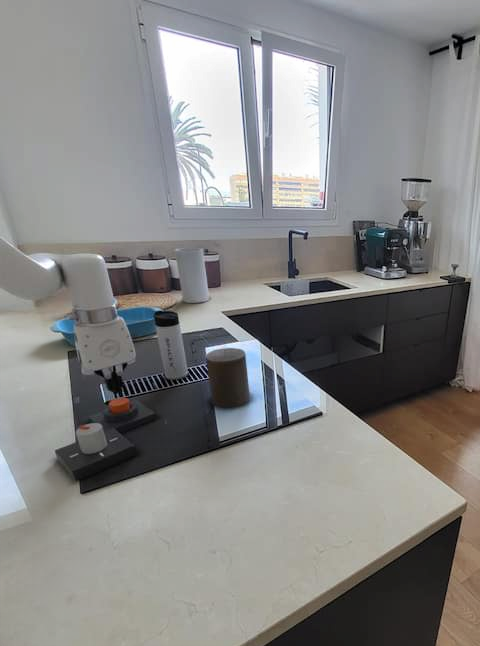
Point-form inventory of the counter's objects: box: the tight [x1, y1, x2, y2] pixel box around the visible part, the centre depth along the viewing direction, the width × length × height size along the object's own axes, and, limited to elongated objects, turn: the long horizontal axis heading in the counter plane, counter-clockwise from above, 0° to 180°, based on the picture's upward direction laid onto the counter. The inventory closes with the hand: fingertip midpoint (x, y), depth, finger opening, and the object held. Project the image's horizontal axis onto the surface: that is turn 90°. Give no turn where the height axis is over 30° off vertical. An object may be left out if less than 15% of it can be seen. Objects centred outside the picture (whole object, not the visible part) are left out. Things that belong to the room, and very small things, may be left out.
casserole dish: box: [49, 306, 164, 347], centre depth 148 cm, size 37×22×7 cm, turn 134°
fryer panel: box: [54, 428, 137, 482], centre depth 80 cm, size 11×10×3 cm
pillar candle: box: [205, 347, 251, 409], centre depth 101 cm, size 10×10×15 cm
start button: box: [108, 397, 130, 413], centre depth 92 cm, size 4×4×2 cm
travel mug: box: [154, 309, 189, 381], centre depth 113 cm, size 6×7×20 cm
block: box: [87, 399, 157, 434], centre depth 93 cm, size 11×10×4 cm
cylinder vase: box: [174, 247, 210, 304], centre depth 194 cm, size 12×12×25 cm
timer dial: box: [75, 423, 107, 454], centre depth 78 cm, size 4×4×5 cm
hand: (116, 391), depth 90 cm, fingers closed
